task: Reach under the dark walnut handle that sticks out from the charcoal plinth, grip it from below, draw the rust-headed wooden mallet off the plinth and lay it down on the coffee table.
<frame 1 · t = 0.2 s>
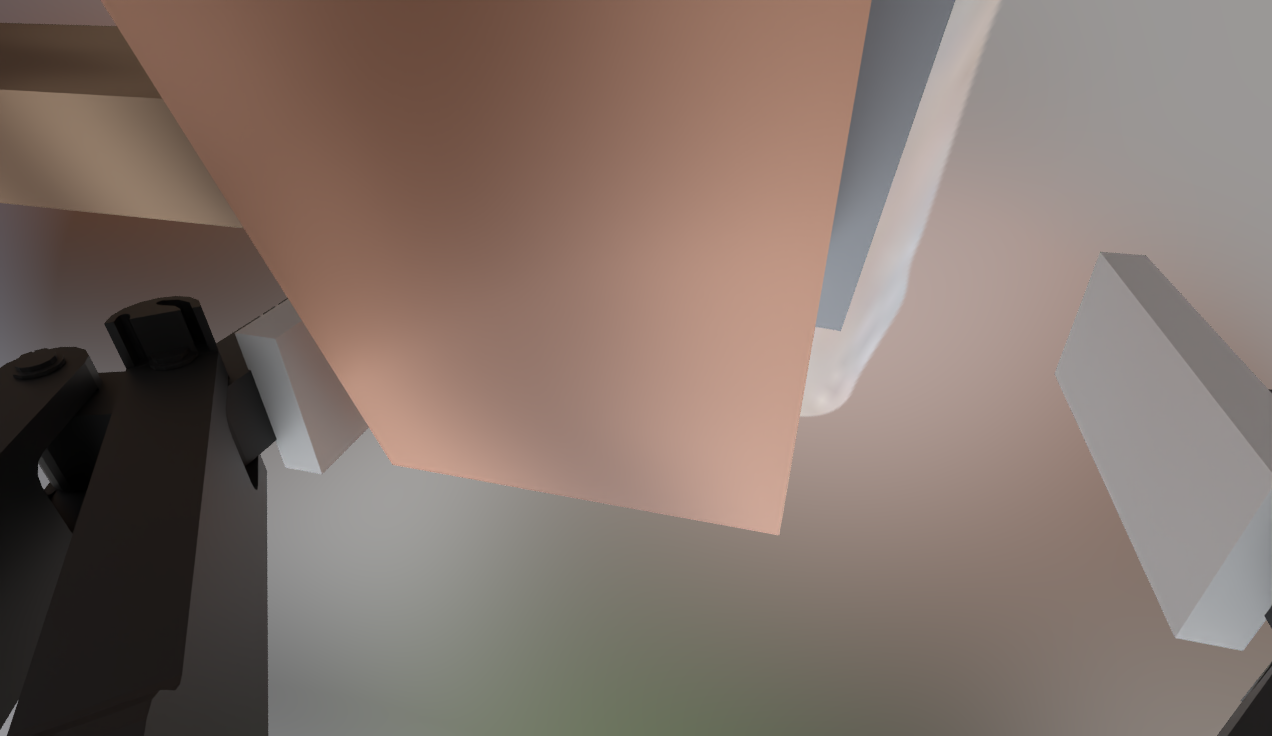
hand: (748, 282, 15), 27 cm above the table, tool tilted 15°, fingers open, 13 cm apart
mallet: (649, 52, 13), point 26 cm above the table, touching plinth
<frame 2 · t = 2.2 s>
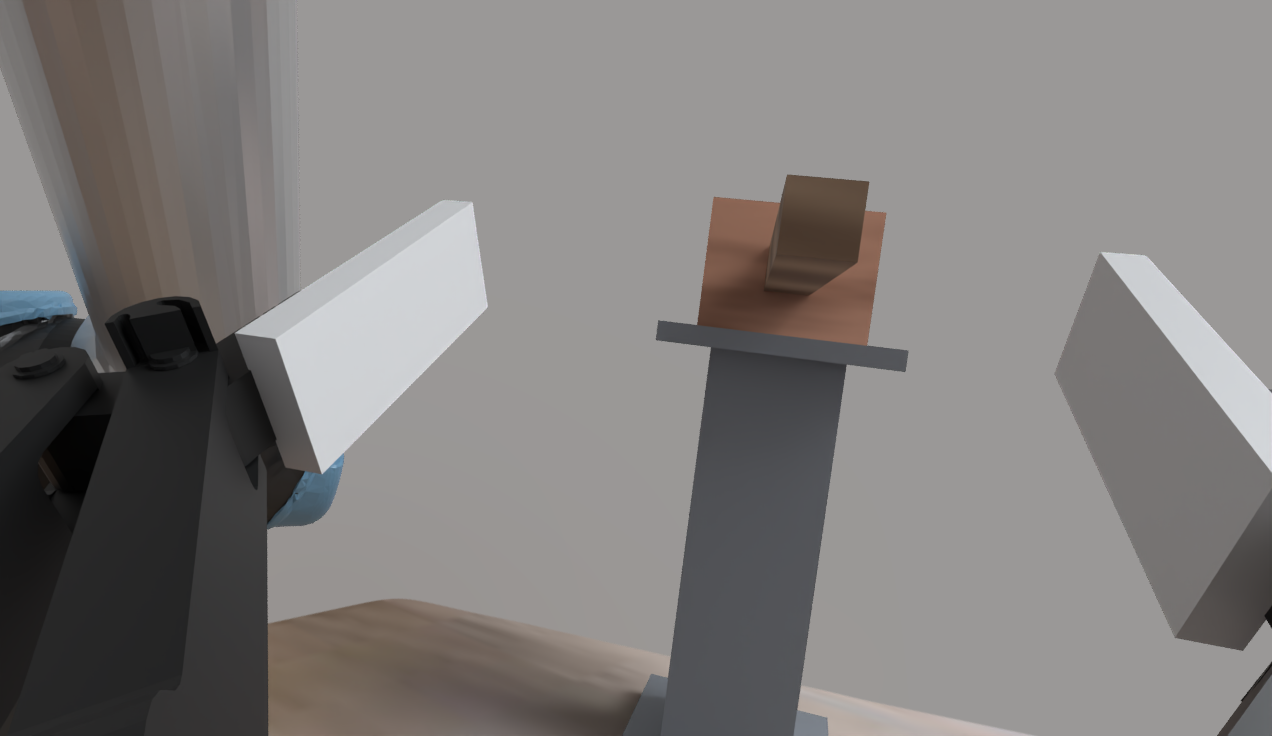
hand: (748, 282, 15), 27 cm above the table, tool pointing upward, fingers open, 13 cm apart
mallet: (777, 336, 40), point 26 cm above the table, touching plinth
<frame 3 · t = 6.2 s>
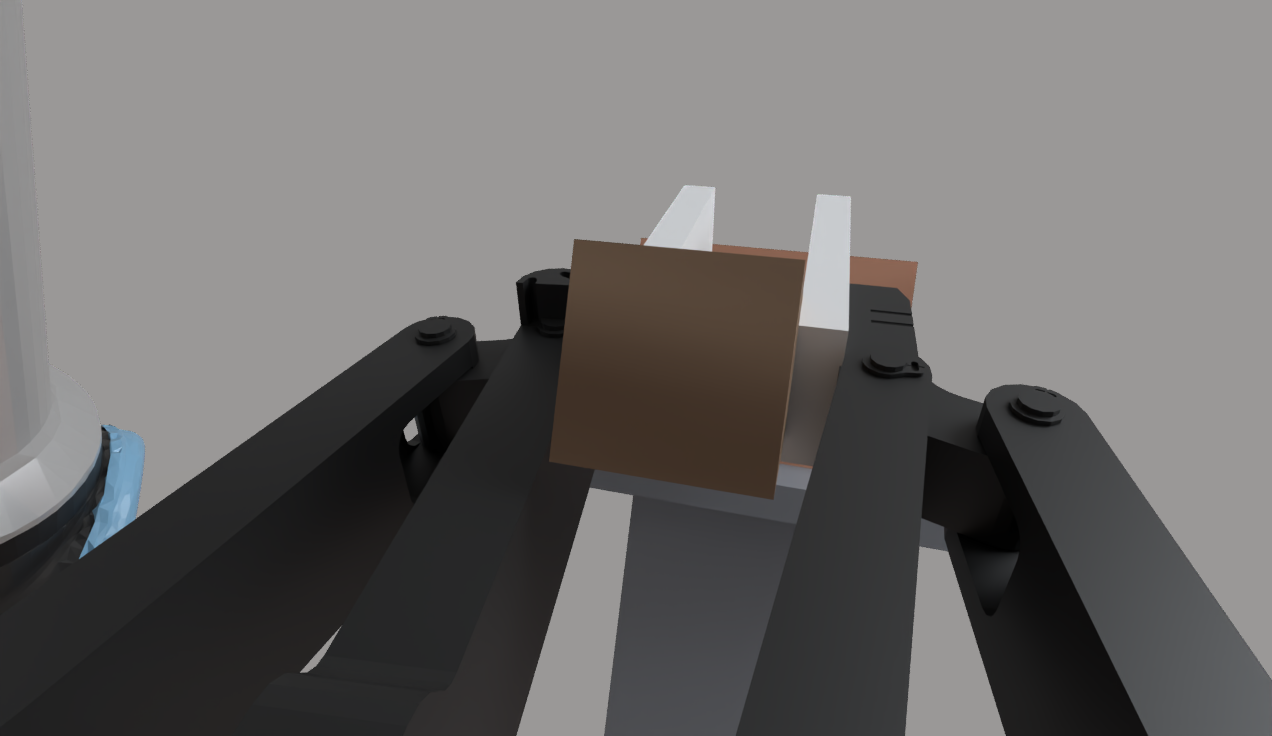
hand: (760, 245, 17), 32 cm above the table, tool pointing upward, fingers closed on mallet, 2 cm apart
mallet: (752, 444, 26), point 26 cm above the table, touching gripper, plinth
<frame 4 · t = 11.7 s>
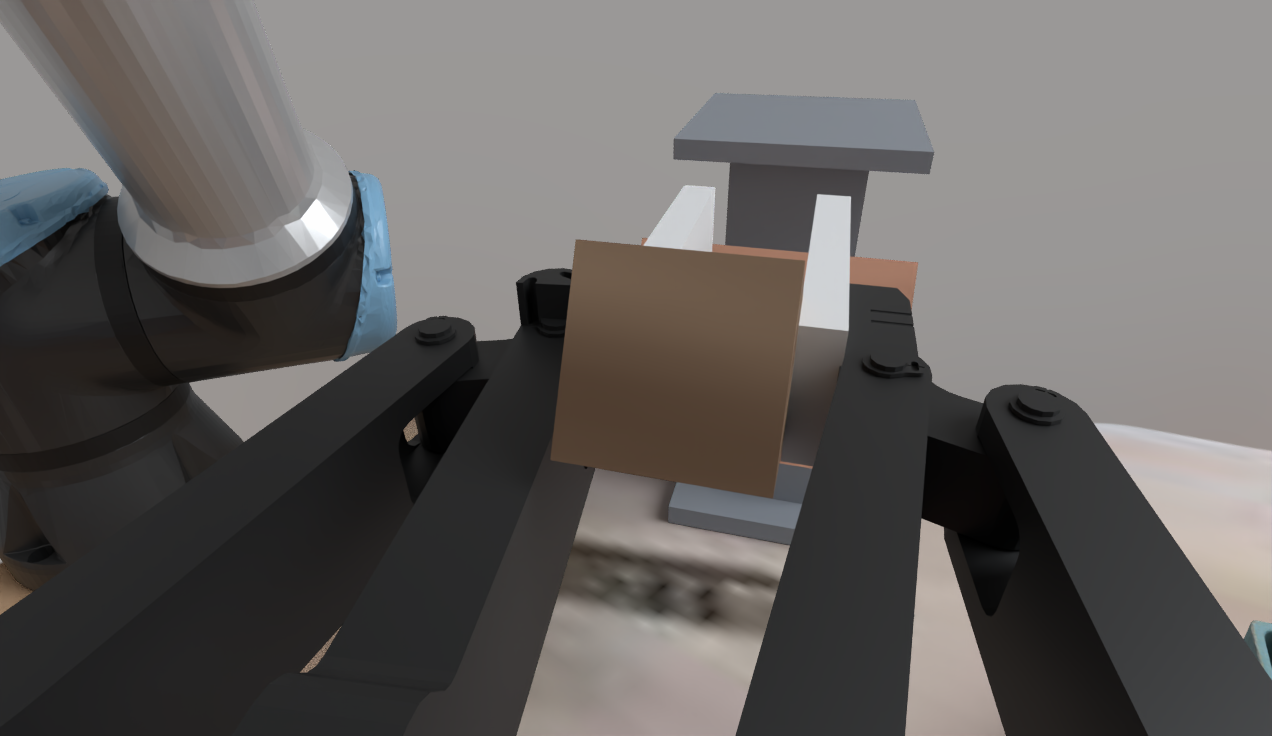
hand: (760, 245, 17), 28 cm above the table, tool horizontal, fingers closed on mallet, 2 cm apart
plinth: (764, 480, 51), on the table
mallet: (753, 443, 26), point 18 cm above the table, tilted 30°, touching gripper
when the fingers open (13 cm above the table, at t = 15.8 s): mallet drops 3 cm, on the table.
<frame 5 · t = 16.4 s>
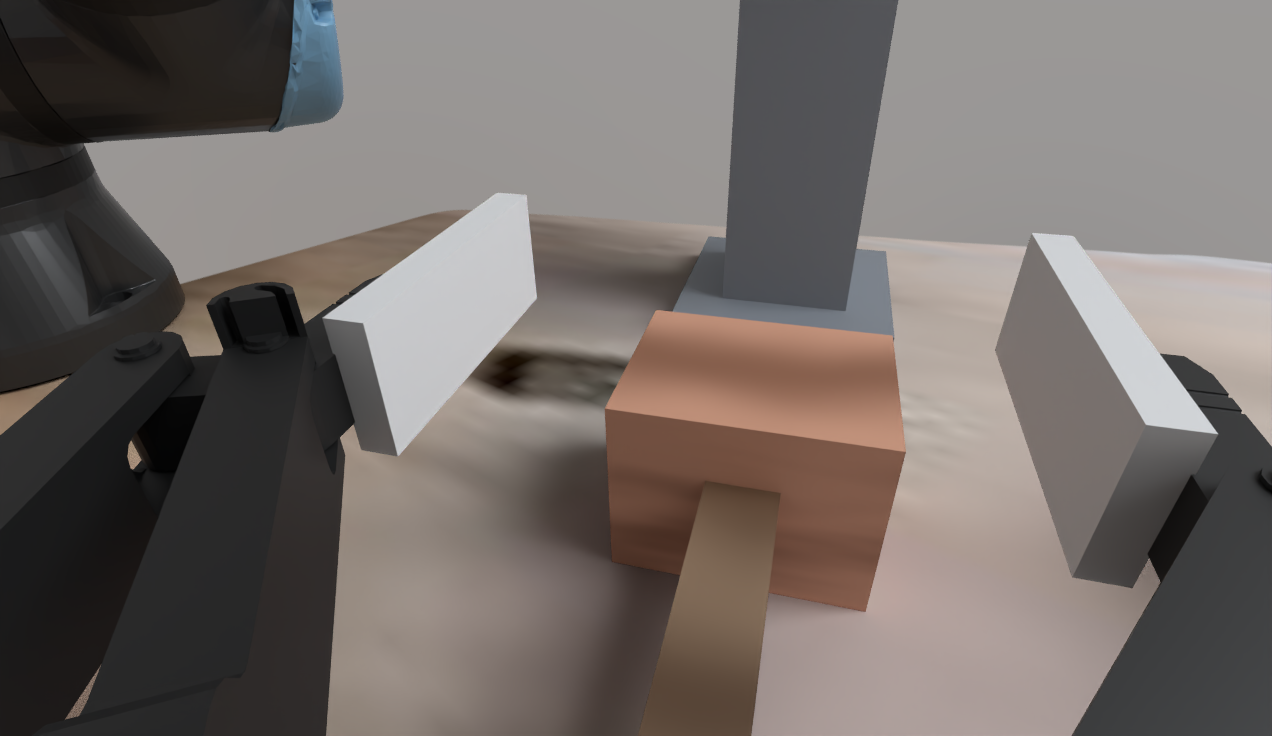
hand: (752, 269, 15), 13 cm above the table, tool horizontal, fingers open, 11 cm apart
plinth: (785, 301, 43), on the table
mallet: (745, 518, 27), on the table
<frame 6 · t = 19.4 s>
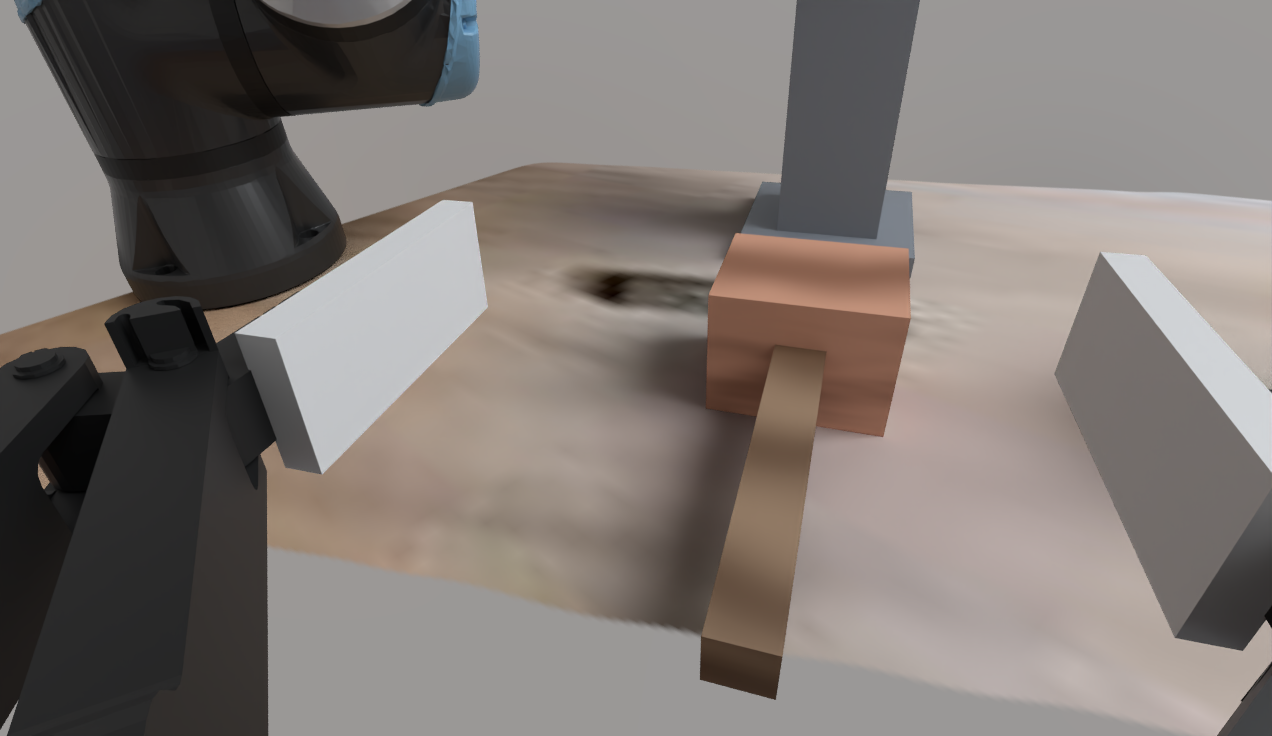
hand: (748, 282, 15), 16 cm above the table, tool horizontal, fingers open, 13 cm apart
plinth: (827, 233, 53), on the table
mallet: (798, 383, 38), on the table
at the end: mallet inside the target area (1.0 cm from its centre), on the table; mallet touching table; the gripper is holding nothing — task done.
